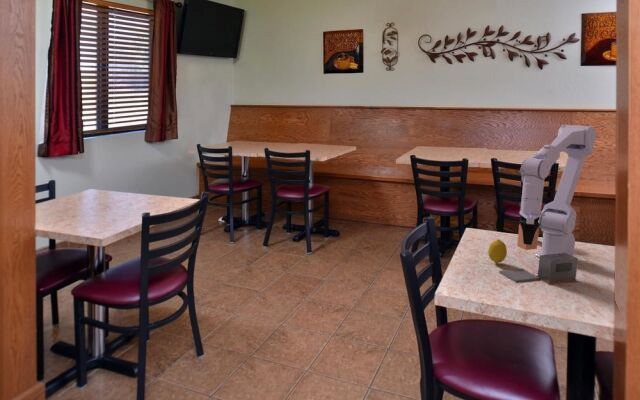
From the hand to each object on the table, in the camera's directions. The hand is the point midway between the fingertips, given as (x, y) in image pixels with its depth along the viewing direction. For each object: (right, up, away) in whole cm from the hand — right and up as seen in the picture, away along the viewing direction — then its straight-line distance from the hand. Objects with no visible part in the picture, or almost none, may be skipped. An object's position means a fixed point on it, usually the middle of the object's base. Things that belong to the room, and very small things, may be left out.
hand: (527, 241), depth 156 cm
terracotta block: (0, -2, 0) cm, 2 cm away
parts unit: (+6, -11, -6) cm, 14 cm away
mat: (-4, -10, -4) cm, 12 cm away
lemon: (-7, -8, +7) cm, 13 cm away
